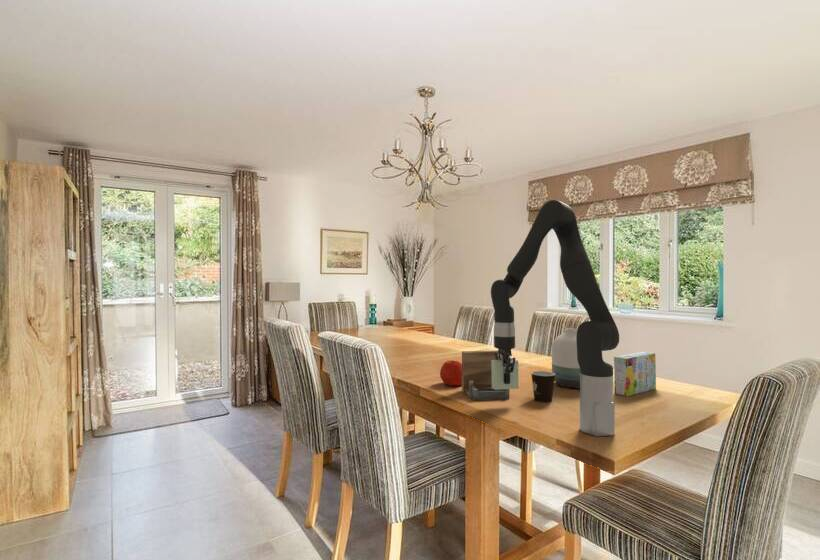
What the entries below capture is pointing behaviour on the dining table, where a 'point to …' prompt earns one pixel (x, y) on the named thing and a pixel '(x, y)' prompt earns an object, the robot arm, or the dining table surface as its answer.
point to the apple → (451, 373)
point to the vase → (566, 359)
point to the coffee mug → (543, 385)
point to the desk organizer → (480, 376)
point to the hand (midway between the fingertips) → (504, 382)
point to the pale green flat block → (499, 376)
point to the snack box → (634, 373)
